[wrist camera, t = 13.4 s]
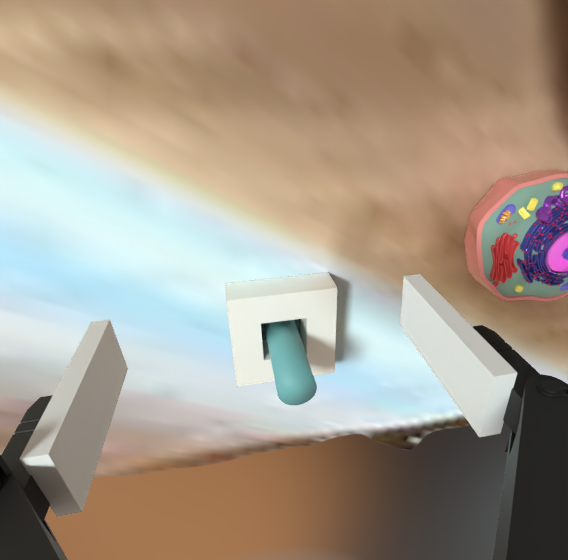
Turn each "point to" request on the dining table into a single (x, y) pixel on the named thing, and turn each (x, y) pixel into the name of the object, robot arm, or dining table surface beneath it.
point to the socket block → (281, 307)
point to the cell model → (521, 237)
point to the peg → (289, 363)
